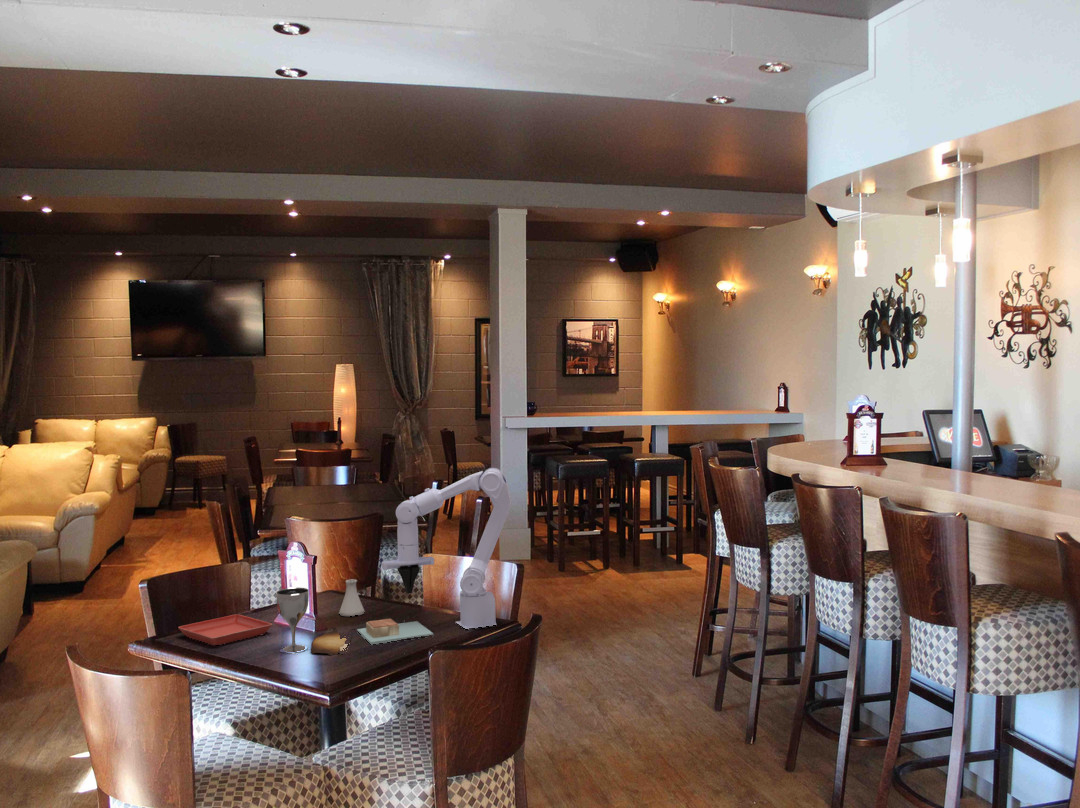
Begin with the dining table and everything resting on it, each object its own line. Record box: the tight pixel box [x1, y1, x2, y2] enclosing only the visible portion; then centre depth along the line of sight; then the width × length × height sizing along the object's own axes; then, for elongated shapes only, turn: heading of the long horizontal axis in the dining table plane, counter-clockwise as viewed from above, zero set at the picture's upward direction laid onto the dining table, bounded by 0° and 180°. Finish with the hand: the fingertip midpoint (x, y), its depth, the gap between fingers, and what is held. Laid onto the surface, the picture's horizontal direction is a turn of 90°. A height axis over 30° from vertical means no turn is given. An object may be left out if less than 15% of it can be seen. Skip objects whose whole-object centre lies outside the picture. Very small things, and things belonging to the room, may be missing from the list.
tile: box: [365, 618, 399, 638], centre depth 238 cm, size 3×7×7 cm
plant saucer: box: [178, 614, 273, 646], centre depth 240 cm, size 18×18×3 cm
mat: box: [356, 620, 434, 646], centre depth 240 cm, size 17×14×1 cm
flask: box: [338, 579, 366, 617], centre depth 262 cm, size 7×7×10 cm
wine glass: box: [276, 587, 310, 652], centre depth 227 cm, size 8×8×15 cm
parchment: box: [310, 627, 348, 656], centre depth 233 cm, size 25×10×1 cm, turn 4°
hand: (408, 592), depth 247 cm, fingers closed
